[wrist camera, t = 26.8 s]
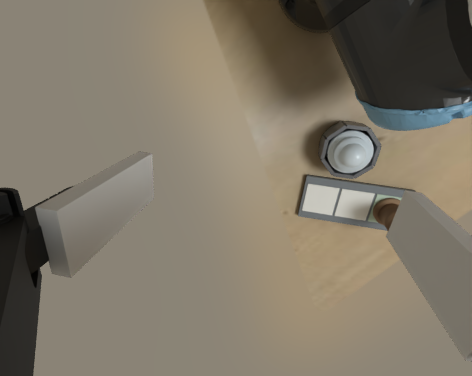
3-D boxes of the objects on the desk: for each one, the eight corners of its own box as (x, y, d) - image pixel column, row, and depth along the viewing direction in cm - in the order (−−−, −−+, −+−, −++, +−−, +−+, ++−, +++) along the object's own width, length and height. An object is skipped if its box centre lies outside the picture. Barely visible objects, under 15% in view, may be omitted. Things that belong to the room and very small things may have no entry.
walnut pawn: (377, 195, 49) (401, 225, 40) (409, 200, 49) (440, 231, 39) (368, 220, 52) (389, 254, 42) (398, 225, 51) (425, 260, 41)
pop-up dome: (331, 126, 44) (337, 133, 39) (375, 132, 43) (387, 139, 38) (321, 166, 47) (326, 176, 42) (362, 171, 46) (372, 183, 41)
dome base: (325, 118, 46) (329, 122, 42) (377, 124, 45) (387, 129, 41) (314, 165, 50) (317, 173, 46) (362, 172, 49) (369, 181, 45)
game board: (306, 174, 51) (307, 176, 50) (414, 190, 49) (416, 192, 48) (297, 214, 55) (298, 216, 54) (397, 230, 52) (399, 233, 52)
